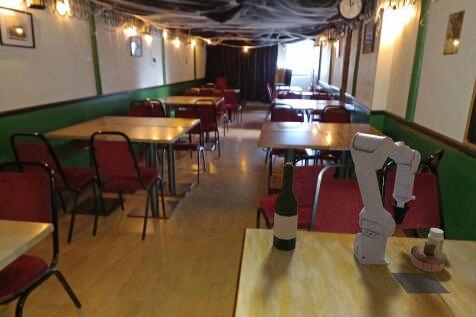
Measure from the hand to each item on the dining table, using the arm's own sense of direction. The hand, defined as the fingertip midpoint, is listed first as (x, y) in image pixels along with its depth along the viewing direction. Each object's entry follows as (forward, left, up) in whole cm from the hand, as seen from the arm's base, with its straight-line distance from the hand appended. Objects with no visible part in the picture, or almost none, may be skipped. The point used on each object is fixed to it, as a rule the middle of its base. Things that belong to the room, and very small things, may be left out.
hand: (398, 219), depth 120 cm
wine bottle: (-40, 0, -10) cm, 41 cm away
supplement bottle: (+11, -5, -10) cm, 16 cm away
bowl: (+4, -13, -10) cm, 17 cm away
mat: (-4, -23, -10) cm, 25 cm away
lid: (+4, -14, -6) cm, 15 cm away
